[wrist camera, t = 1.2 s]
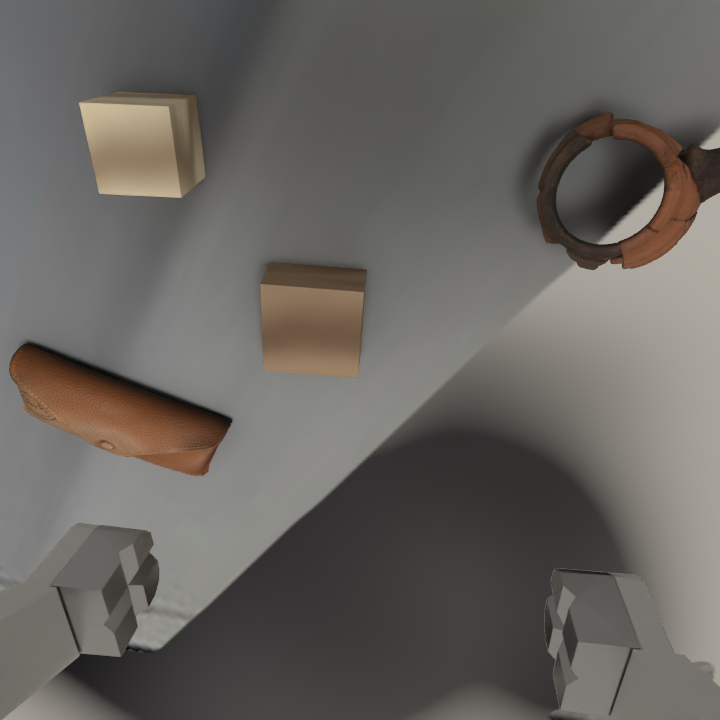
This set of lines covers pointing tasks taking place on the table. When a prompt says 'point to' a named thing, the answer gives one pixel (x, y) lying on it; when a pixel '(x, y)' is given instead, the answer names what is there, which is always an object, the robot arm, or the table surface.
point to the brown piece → (678, 206)
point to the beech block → (144, 143)
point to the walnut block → (312, 319)
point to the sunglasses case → (116, 413)
